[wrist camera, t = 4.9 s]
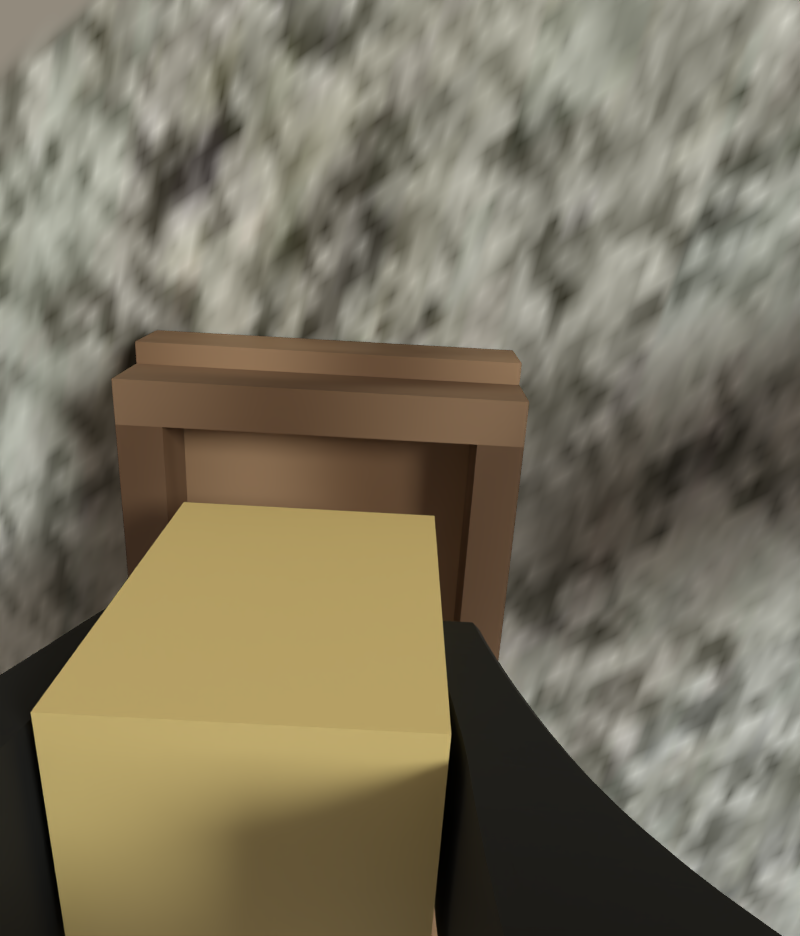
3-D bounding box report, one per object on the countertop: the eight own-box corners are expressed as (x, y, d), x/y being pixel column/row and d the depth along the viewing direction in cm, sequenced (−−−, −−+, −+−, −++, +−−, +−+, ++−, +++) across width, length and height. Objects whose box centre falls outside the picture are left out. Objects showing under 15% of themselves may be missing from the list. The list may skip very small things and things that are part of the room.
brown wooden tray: (512, 350, 14) (583, 454, 8) (438, 1029, 21) (449, 1342, 15) (156, 330, 14) (-17, 420, 8) (199, 1017, 21) (119, 1326, 15)
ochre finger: (434, 515, 12) (451, 734, 7) (416, 740, 13) (421, 1042, 9) (183, 501, 12) (30, 713, 7) (196, 729, 13) (79, 1025, 8)
